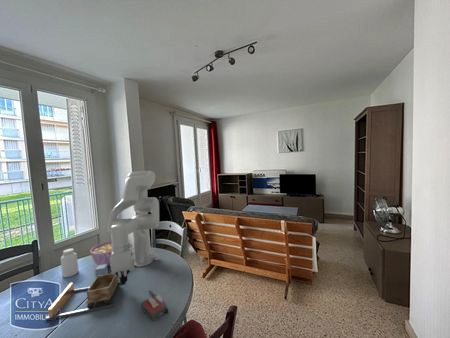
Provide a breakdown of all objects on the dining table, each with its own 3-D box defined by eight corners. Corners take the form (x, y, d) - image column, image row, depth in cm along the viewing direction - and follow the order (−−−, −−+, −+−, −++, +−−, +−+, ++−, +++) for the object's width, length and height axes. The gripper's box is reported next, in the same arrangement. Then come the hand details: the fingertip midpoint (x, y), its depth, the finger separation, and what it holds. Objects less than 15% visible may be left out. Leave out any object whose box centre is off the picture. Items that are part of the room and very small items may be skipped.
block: (108, 277, 118) (106, 264, 117) (105, 281, 113) (104, 268, 113) (99, 278, 117) (98, 265, 116) (96, 283, 112) (95, 269, 112)
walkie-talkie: (172, 311, 89) (151, 292, 103) (172, 301, 89) (150, 284, 102) (154, 324, 83) (134, 302, 96) (153, 314, 82) (133, 293, 96)
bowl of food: (116, 270, 124) (115, 252, 123) (84, 272, 124) (82, 254, 123) (131, 255, 144) (130, 239, 143) (103, 256, 144) (102, 240, 143)
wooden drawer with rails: (124, 282, 112) (123, 273, 111) (114, 306, 93) (113, 296, 93) (68, 292, 105) (67, 283, 105) (45, 321, 87) (44, 310, 87)
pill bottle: (81, 270, 127) (79, 247, 126) (70, 277, 119) (68, 253, 118) (70, 270, 128) (67, 247, 127) (58, 277, 120) (56, 253, 119)
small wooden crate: (119, 285, 109) (118, 271, 109) (110, 304, 95) (109, 288, 94) (98, 288, 107) (97, 275, 106) (86, 309, 92) (85, 293, 92)
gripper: (138, 242, 107) (140, 275, 108) (106, 247, 103) (110, 281, 105) (135, 248, 100) (138, 284, 101) (101, 254, 96) (105, 290, 97)
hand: (124, 282), depth 103 cm, fingers closed
